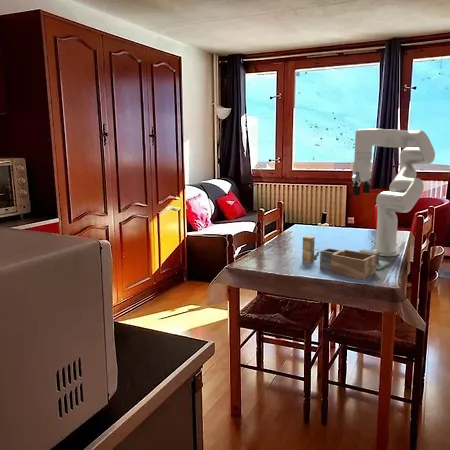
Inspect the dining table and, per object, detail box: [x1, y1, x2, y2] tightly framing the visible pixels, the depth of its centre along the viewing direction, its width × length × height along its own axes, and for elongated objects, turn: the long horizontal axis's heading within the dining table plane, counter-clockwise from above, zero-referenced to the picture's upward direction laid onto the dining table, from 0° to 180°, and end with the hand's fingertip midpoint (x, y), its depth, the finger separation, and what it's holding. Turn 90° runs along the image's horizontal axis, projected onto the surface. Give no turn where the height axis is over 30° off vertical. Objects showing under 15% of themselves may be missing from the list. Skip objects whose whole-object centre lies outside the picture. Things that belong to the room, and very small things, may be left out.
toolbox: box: [319, 247, 377, 280], centre depth 190 cm, size 12×22×8 cm, turn 47°
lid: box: [358, 249, 391, 271], centre depth 202 cm, size 12×22×6 cm, turn 47°
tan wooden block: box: [301, 235, 316, 264], centre depth 205 cm, size 4×4×12 cm
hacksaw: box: [301, 247, 320, 261], centre depth 221 cm, size 24×10×2 cm, turn 161°
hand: (361, 194), depth 199 cm, fingers open, 9 cm apart
